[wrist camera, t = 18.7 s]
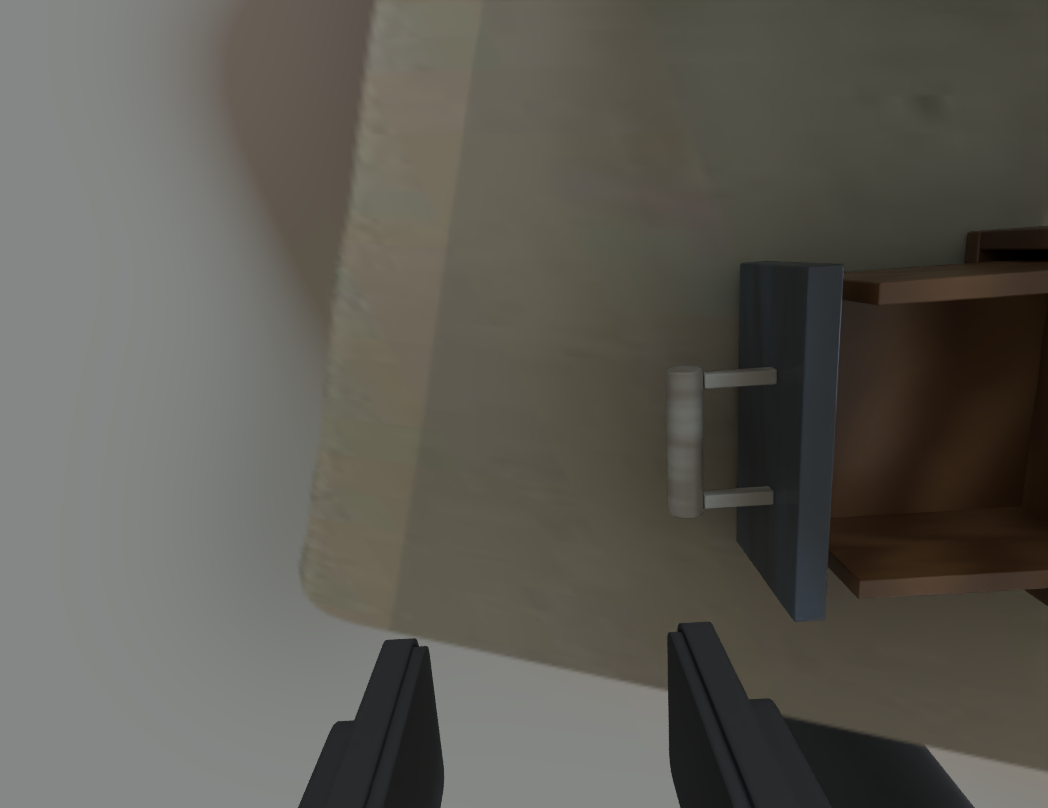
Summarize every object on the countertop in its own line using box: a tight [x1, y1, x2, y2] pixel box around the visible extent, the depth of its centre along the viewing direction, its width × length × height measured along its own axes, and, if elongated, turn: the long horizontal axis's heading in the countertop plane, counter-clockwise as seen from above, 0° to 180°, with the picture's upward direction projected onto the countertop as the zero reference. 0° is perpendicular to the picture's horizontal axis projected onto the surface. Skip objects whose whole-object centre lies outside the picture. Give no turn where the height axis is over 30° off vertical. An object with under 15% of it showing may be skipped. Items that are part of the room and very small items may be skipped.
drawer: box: [666, 257, 1048, 622], centre depth 25 cm, size 18×13×7 cm
